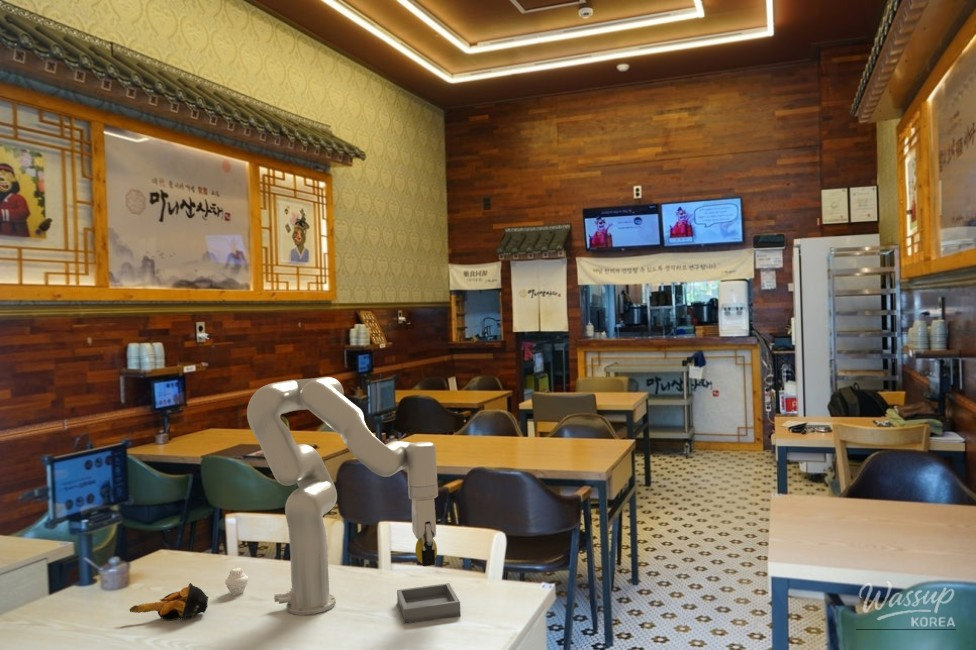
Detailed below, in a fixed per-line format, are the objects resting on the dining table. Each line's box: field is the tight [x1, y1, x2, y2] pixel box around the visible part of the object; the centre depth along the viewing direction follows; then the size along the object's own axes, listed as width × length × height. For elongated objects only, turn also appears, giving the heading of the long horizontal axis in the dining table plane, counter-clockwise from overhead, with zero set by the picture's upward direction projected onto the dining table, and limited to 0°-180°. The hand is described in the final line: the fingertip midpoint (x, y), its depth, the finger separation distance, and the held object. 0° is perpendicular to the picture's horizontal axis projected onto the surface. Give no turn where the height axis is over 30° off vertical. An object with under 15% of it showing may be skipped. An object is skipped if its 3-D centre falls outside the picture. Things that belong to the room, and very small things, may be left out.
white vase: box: [224, 567, 249, 595], centre depth 206 cm, size 6×6×7 cm
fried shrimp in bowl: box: [129, 582, 209, 621], centre depth 189 cm, size 9×11×18 cm
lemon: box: [415, 535, 438, 564], centre depth 188 cm, size 6×6×8 cm
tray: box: [396, 582, 462, 625], centre depth 188 cm, size 14×14×4 cm
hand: (426, 560), depth 188 cm, fingers closed on lemon, 5 cm apart
